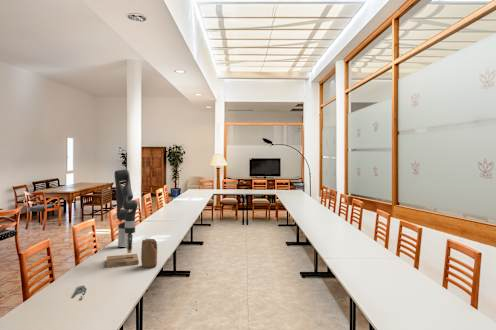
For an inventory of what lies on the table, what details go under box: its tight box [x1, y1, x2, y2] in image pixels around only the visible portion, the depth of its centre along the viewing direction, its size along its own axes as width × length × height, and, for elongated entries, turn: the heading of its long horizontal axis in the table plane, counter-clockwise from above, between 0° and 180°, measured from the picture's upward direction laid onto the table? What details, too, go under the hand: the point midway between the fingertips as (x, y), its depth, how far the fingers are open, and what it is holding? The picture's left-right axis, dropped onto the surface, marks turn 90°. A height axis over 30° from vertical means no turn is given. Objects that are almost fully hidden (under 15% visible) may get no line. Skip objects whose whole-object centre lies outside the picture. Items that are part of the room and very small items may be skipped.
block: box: [140, 238, 158, 269], centre depth 233 cm, size 11×8×20 cm
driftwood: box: [70, 285, 88, 300], centre depth 185 cm, size 21×7×2 cm, turn 16°
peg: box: [126, 241, 133, 254], centre depth 242 cm, size 4×4×10 cm
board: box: [105, 253, 140, 269], centre depth 241 cm, size 18×22×3 cm
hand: (129, 248), depth 243 cm, fingers closed on peg, 4 cm apart
